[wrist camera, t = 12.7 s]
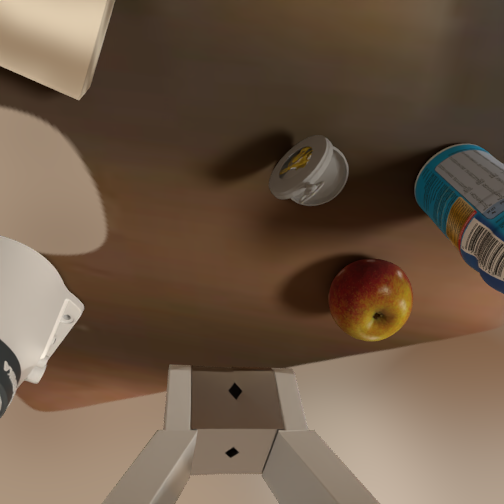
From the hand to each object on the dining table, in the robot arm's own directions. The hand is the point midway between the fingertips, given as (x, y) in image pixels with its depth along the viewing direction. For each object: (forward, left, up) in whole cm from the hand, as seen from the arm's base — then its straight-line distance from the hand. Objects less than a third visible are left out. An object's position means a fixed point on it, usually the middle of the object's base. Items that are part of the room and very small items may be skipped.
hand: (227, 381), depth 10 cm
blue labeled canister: (+2, -27, -31) cm, 41 cm away
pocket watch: (-3, -12, -31) cm, 34 cm away
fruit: (-13, -26, -31) cm, 43 cm away
